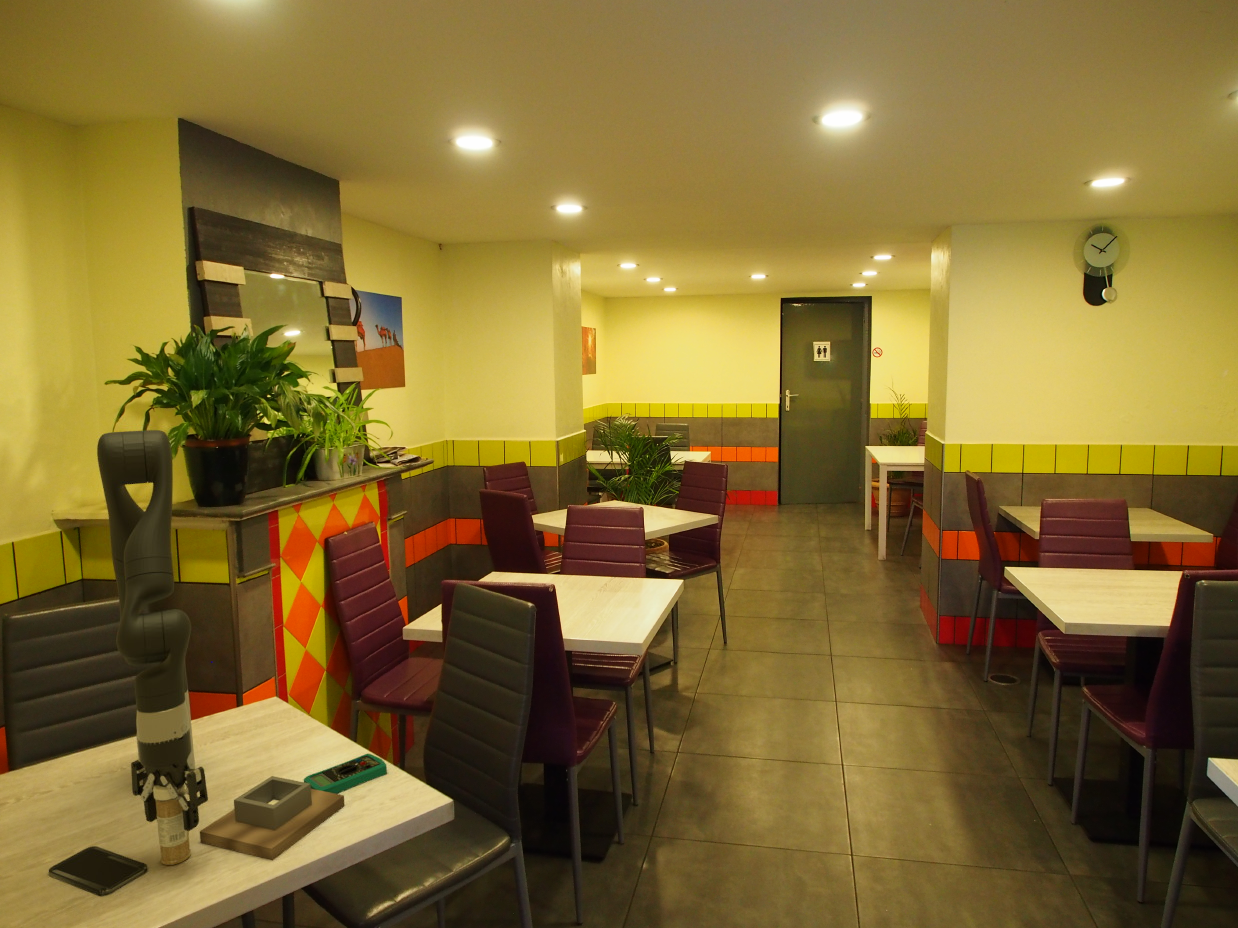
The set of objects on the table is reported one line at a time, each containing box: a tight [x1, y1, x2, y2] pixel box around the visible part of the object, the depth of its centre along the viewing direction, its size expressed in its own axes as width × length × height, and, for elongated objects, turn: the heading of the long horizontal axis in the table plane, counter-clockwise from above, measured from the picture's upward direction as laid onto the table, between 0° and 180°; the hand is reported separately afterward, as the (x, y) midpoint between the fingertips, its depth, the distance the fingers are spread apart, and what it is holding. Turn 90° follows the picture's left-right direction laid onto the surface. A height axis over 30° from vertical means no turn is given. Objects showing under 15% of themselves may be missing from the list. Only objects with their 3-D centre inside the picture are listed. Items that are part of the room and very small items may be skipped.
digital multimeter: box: [303, 753, 388, 794], centre depth 163 cm, size 7×15×3 cm, turn 135°
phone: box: [48, 845, 148, 897], centre depth 135 cm, size 8×1×15 cm
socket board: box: [199, 789, 345, 861], centre depth 148 cm, size 16×18×2 cm
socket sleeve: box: [233, 775, 312, 830], centre depth 148 cm, size 9×9×4 cm
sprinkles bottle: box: [153, 783, 192, 866], centre depth 138 cm, size 5×5×14 cm
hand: (172, 823), depth 137 cm, fingers open, 8 cm apart
